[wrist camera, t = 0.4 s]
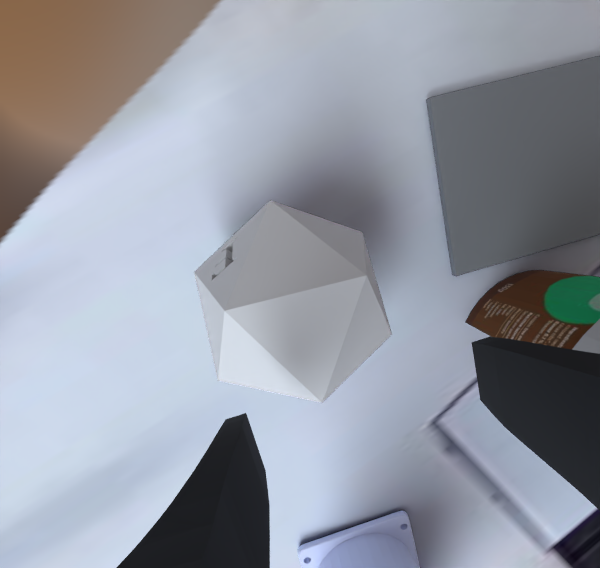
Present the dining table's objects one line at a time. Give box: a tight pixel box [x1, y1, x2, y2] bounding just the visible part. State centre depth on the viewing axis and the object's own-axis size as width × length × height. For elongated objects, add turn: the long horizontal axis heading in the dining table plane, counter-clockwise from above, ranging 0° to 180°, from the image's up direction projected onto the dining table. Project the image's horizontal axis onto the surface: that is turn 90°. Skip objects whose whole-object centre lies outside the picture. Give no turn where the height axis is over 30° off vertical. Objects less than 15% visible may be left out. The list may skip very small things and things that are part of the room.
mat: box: [426, 56, 600, 276], centre depth 20 cm, size 10×12×1 cm
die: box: [194, 200, 392, 403], centre depth 16 cm, size 8×9×10 cm
